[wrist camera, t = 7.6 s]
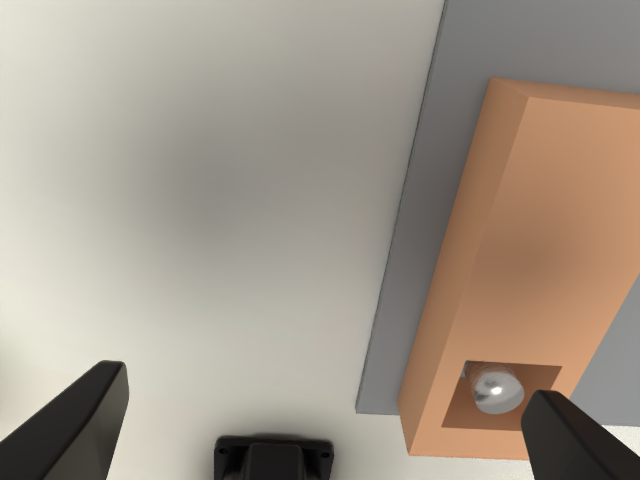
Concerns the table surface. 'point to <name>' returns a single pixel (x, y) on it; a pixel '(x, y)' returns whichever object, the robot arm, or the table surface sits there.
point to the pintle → (493, 386)
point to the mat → (450, 158)
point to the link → (526, 261)
